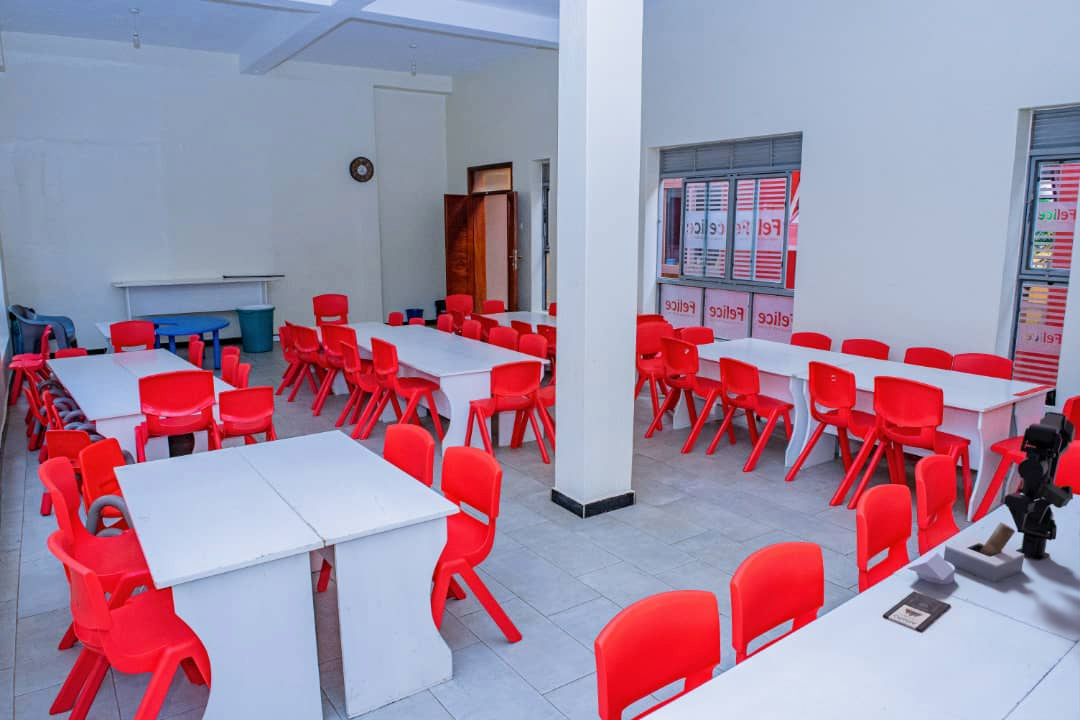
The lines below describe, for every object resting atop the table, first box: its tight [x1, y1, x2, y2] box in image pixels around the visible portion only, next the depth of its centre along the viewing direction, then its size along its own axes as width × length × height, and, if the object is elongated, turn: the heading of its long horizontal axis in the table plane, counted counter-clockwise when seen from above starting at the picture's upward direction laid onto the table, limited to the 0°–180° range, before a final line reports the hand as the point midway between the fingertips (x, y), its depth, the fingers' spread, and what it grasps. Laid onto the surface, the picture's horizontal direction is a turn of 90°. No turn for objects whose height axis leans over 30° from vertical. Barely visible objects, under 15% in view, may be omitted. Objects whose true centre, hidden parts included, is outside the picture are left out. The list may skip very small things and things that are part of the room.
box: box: [943, 535, 1025, 584], centre depth 213 cm, size 14×14×5 cm
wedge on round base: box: [906, 552, 956, 585], centre depth 205 cm, size 9×7×13 cm
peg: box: [979, 522, 1015, 557], centre depth 211 cm, size 4×4×12 cm
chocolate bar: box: [882, 591, 952, 633], centre depth 188 cm, size 9×1×18 cm
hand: (1028, 526), depth 209 cm, fingers open, 9 cm apart
